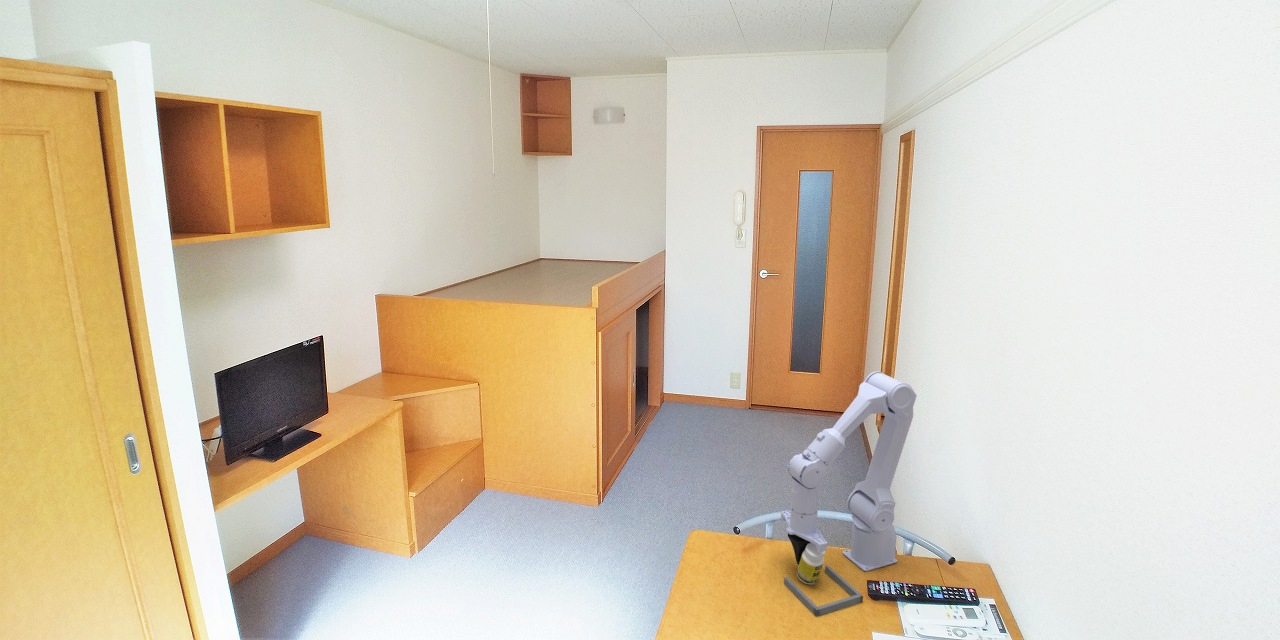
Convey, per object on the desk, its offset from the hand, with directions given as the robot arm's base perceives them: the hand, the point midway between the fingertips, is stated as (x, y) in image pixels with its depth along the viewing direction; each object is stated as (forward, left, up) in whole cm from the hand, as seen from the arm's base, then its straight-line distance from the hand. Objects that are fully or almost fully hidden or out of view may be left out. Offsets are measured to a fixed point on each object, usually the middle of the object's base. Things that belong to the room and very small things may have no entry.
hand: (801, 563), depth 142 cm
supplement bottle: (0, +2, -2) cm, 3 cm away
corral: (0, +7, -3) cm, 8 cm away
